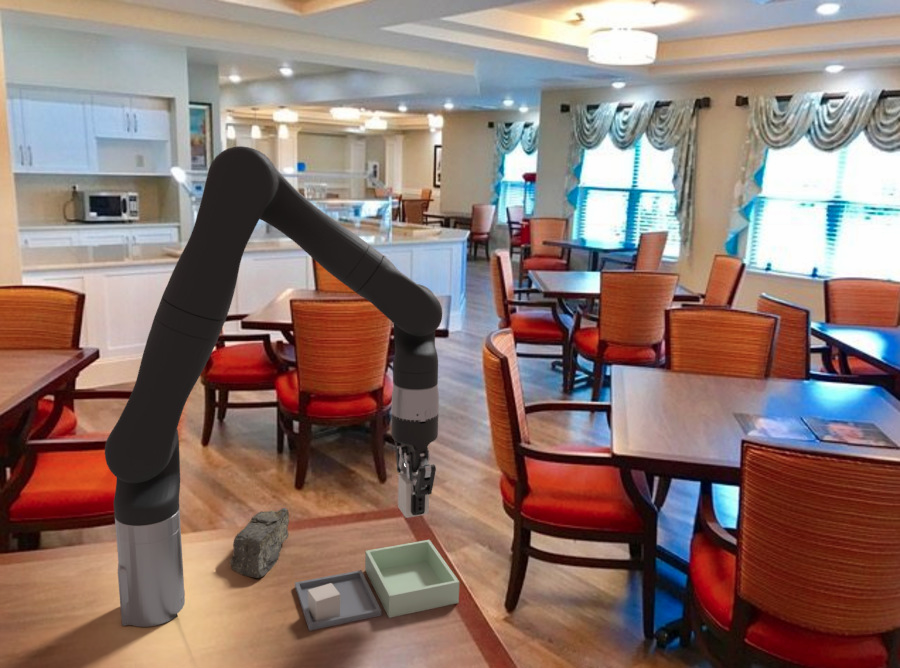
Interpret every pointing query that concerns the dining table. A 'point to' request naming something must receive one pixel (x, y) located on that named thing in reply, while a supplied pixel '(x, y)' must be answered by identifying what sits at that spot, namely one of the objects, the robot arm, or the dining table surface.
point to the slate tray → (341, 598)
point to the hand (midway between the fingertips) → (413, 506)
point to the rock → (260, 543)
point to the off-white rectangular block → (408, 496)
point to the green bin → (411, 578)
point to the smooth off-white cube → (324, 602)
